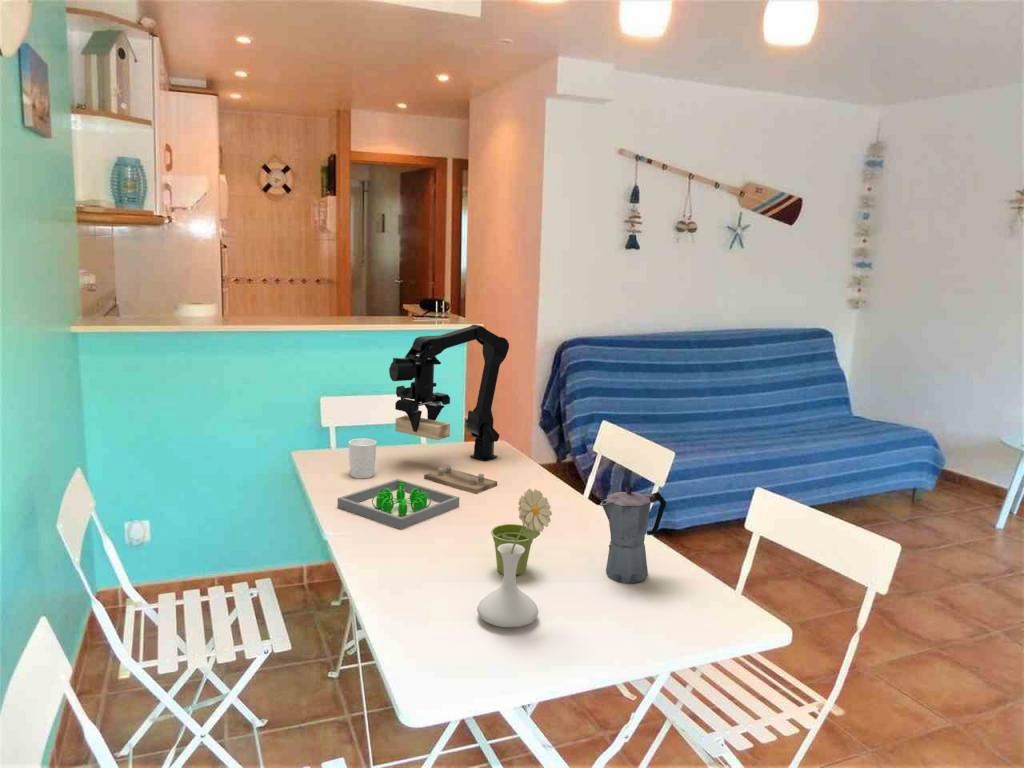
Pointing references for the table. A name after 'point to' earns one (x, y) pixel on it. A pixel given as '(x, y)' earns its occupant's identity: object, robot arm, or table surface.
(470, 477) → the peg stand
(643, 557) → the moka pot
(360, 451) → the white cup
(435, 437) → the beige wooden block
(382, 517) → the toy tray rim
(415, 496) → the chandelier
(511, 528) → the plant pot
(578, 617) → the table surface
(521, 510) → the flower in vase
